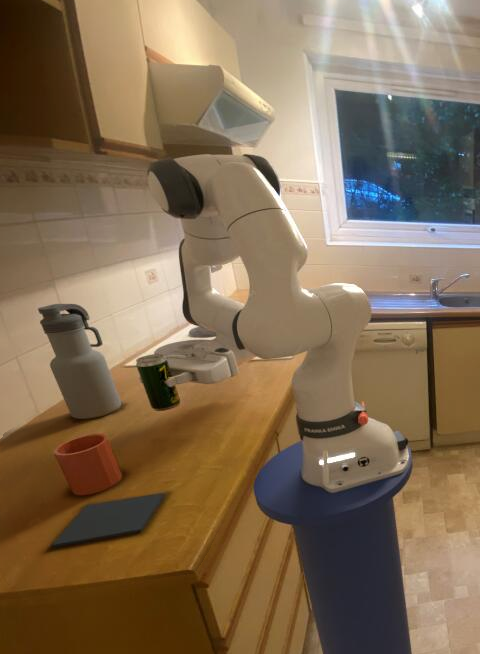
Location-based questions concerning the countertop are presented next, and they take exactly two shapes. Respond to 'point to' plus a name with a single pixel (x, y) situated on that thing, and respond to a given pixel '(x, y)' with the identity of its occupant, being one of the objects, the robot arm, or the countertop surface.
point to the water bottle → (79, 362)
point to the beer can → (157, 382)
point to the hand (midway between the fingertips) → (154, 382)
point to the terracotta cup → (88, 464)
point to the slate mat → (110, 519)
